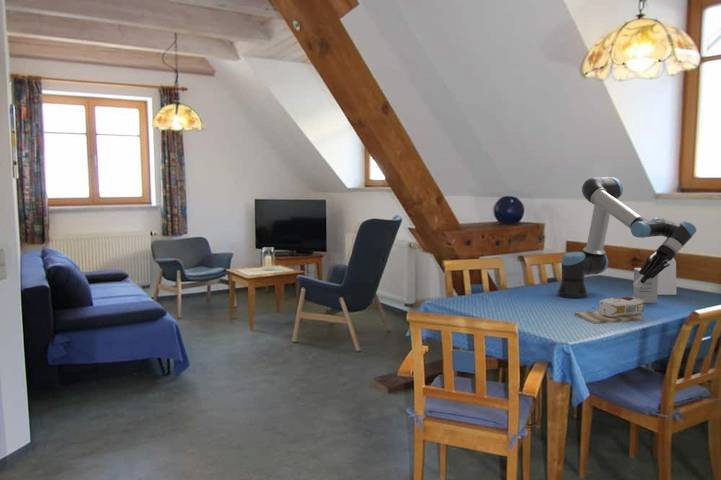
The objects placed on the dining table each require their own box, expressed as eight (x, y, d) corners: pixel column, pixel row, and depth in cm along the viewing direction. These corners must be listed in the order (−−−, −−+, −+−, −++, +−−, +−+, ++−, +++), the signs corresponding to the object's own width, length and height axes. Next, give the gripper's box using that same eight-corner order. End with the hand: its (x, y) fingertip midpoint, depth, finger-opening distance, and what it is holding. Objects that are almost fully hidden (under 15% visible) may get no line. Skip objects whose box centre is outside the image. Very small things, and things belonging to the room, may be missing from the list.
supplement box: (657, 303, 281) (658, 270, 279) (637, 303, 283) (639, 270, 281) (651, 299, 291) (652, 267, 289) (632, 299, 292) (633, 267, 291)
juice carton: (645, 315, 254) (610, 318, 248) (631, 311, 262) (597, 314, 256) (646, 299, 253) (611, 302, 247) (631, 295, 261) (597, 298, 256)
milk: (676, 294, 301) (678, 247, 298) (653, 294, 303) (655, 247, 300) (667, 290, 313) (669, 244, 310) (645, 290, 315) (647, 244, 312)
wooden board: (620, 312, 265) (621, 309, 265) (643, 320, 250) (643, 317, 250) (574, 315, 261) (575, 312, 261) (595, 323, 245) (595, 320, 245)
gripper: (683, 256, 252) (649, 295, 251) (663, 253, 265) (630, 289, 263) (674, 245, 250) (639, 284, 249) (653, 242, 263) (621, 279, 262)
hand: (635, 287), depth 256 cm, fingers closed
